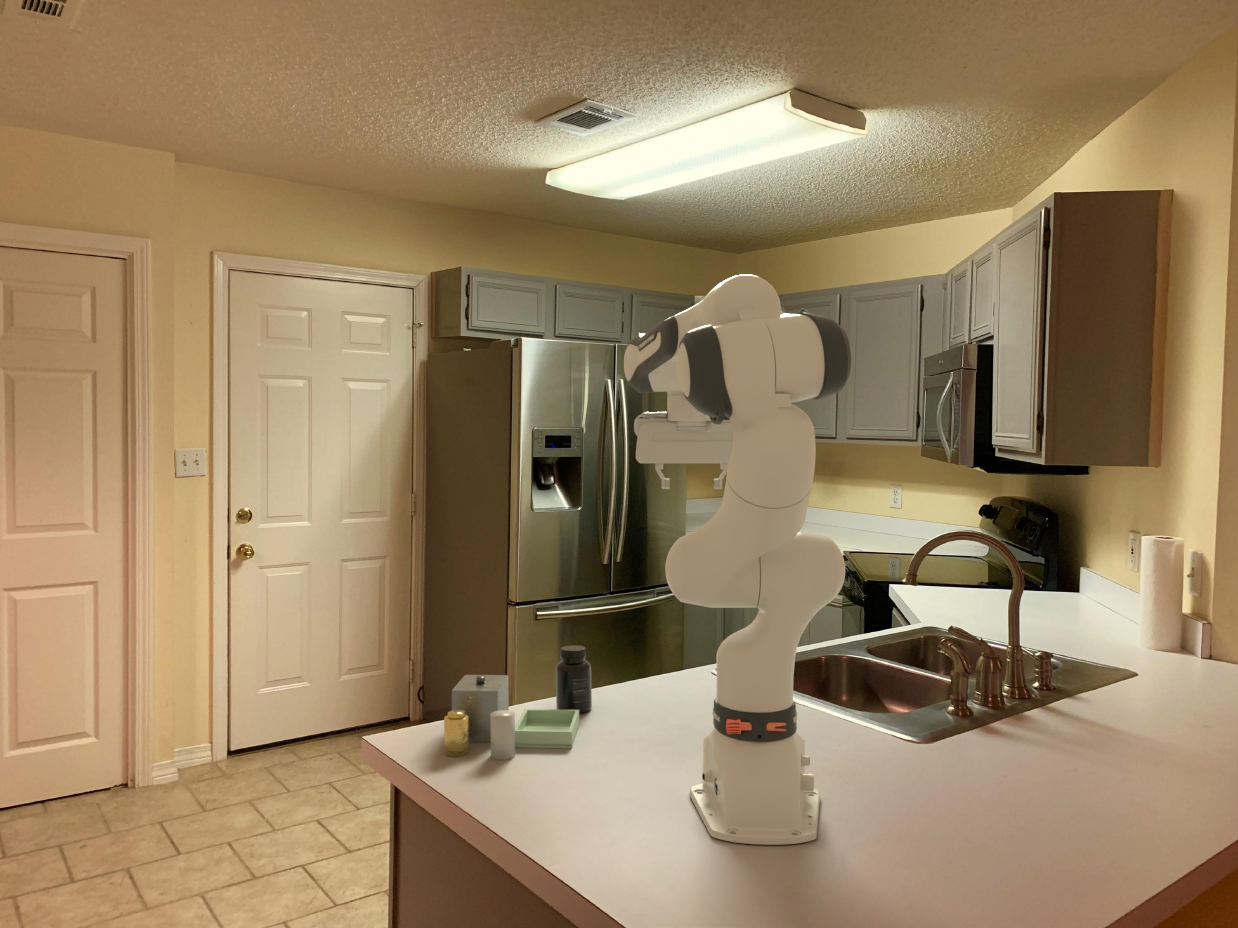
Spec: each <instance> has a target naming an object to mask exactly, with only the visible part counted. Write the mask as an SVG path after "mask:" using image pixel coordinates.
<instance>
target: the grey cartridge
mask: <svg viewBox="0 0 1238 928" xmlns="http://www.w3.org/2000/svg"><path fill="white" fill-rule="evenodd" d="M490 722H491V743H490V758H491V759H493V760H495V761H508V760H511V759H513V758H515V756H516V747H515V727H516V714H515V712H514V711H513V710H500V711H495V712H492V713H491V714H490Z"/></svg>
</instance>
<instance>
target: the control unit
mask: <svg viewBox="0 0 1238 928" xmlns="http://www.w3.org/2000/svg"><path fill="white" fill-rule="evenodd" d="M509 699H510V697H509V674H505V675H504V674H465V675H464V676H462V678H461V679H460V680H459V681H458V682H457V684H456V685H454V687H453V688H452V689H451V711H453V710H462V711H465V714H466V715H468V717H469V743H482V744H483V743H485V744H487V743H489V744H491V722H490V714H491V713H492V712H495V711H500V710H509V701H510V700H509ZM509 711H510V710H509Z"/></svg>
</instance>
